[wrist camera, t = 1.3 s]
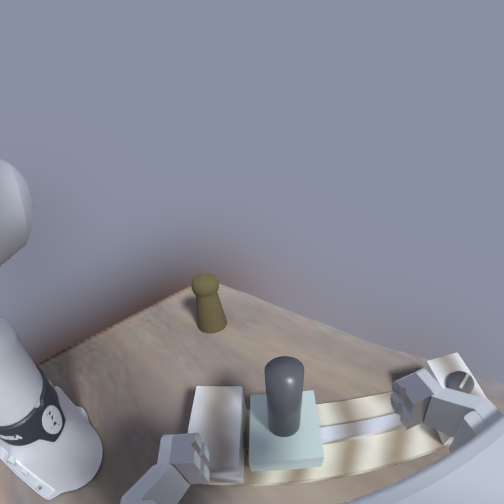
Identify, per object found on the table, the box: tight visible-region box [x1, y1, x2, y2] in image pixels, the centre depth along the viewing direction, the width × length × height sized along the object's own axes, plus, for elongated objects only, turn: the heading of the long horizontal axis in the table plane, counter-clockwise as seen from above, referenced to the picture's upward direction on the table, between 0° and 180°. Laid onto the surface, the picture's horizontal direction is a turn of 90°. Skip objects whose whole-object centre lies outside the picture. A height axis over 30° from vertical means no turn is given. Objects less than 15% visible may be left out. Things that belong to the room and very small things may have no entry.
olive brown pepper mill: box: [192, 274, 227, 333], centre depth 55 cm, size 6×6×11 cm
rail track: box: [188, 353, 486, 486], centre depth 29 cm, size 38×12×7 cm, turn 89°
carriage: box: [249, 356, 324, 471], centre depth 27 cm, size 8×10×14 cm
